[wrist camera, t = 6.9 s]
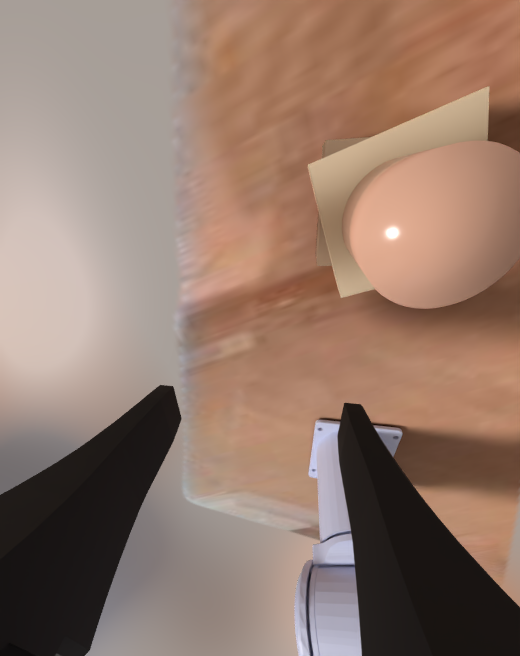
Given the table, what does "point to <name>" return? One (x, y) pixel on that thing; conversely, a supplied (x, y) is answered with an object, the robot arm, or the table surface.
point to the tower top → (358, 160)
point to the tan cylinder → (437, 223)
